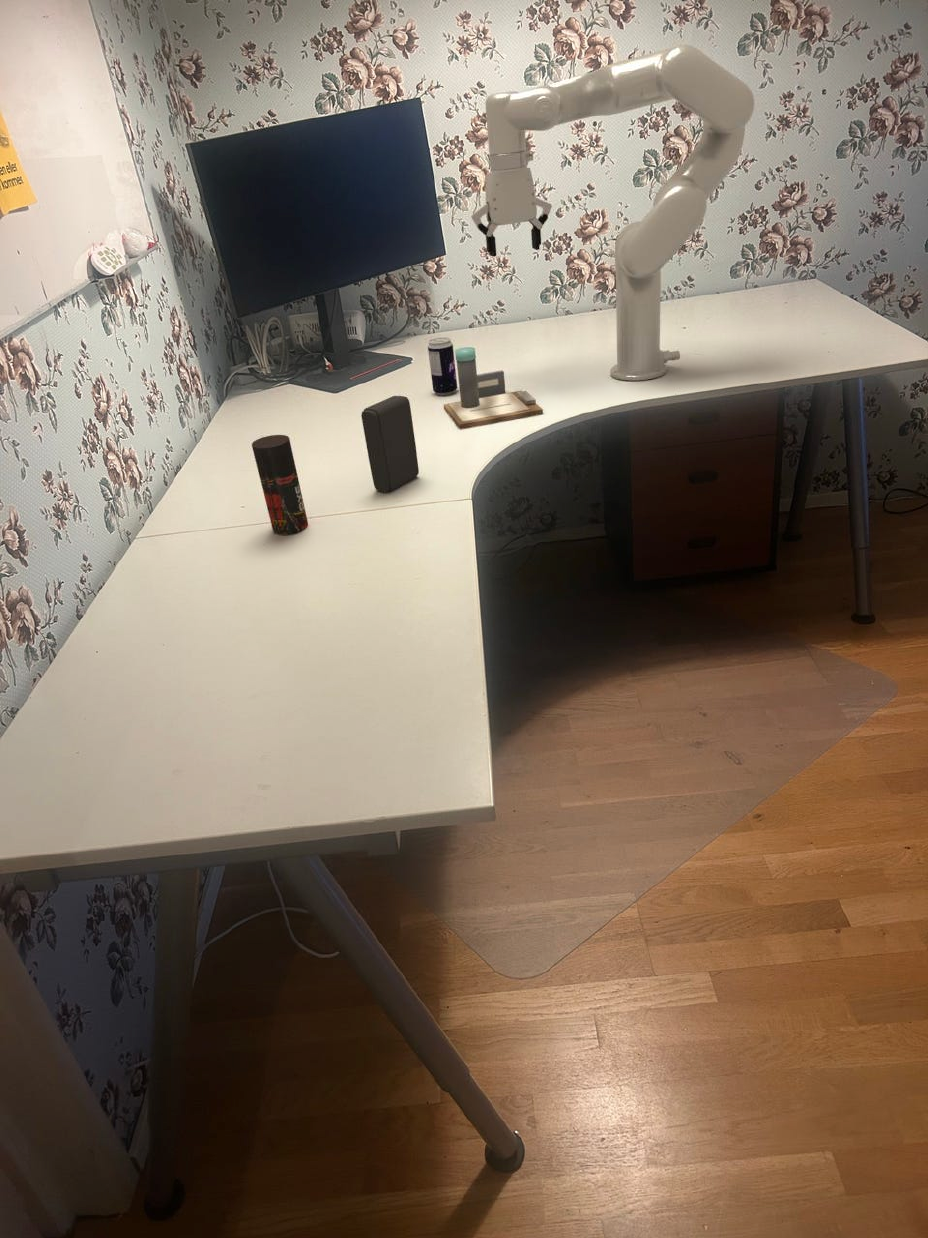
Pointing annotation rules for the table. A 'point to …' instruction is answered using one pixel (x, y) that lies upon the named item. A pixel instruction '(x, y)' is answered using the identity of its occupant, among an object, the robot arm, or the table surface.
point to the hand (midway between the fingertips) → (514, 252)
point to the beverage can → (442, 366)
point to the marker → (467, 377)
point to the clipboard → (494, 409)
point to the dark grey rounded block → (390, 443)
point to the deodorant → (280, 484)
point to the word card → (491, 384)
